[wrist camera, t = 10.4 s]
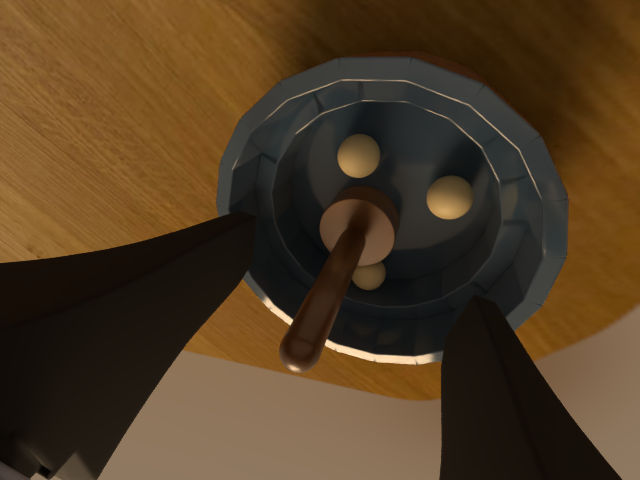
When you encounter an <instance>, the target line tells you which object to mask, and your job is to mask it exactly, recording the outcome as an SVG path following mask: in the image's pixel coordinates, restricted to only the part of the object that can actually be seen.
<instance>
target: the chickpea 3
mask: <svg viewBox="0 0 640 480" xmlns="http://www.w3.org/2000/svg"><path fill="white" fill-rule="evenodd" d="M473 200H474V193H473V189H472V187H471V185H470V184H469V183H468V182H467V181H466V180H465V179H463V178H461V177H459V176H453V175H450V176H444V177H441V178H439V179H438V180H436V181H435V182H434V183H433V184H432V185H431V186H430V188H429V190H428V193H427V205H428V207H429V209H430V211H431V212H432V213H433V214H434V215H436V216H437V217H439V218H442V219H456V218H459V217H461V216H463V215H464V214H465V213H466V212H468V210H469V209H470V208H471V206H472V204H473Z"/></svg>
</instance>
